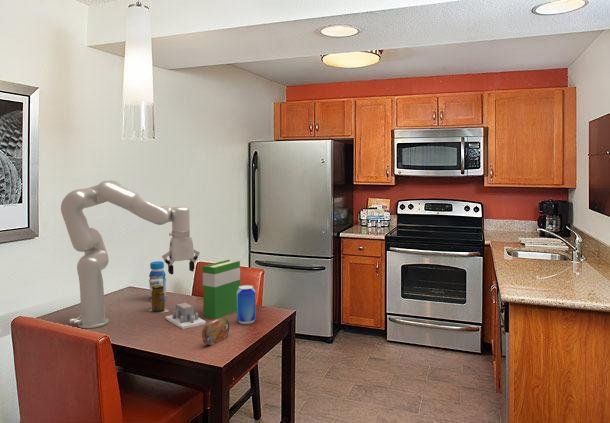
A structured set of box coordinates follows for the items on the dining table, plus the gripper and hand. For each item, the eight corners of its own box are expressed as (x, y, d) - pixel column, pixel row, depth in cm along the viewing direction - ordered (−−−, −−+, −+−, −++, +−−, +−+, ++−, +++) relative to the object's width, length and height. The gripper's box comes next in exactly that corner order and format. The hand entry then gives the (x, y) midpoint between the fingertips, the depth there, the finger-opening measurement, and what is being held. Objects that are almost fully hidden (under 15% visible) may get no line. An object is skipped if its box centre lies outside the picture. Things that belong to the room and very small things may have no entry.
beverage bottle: (170, 299, 246) (168, 261, 244) (157, 303, 239) (156, 264, 237) (159, 296, 251) (157, 260, 249) (146, 300, 244) (144, 262, 242)
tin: (207, 348, 180) (206, 327, 179) (200, 346, 181) (200, 325, 181) (230, 335, 193) (229, 315, 193) (224, 334, 195) (223, 314, 194)
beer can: (238, 325, 205) (237, 289, 204) (236, 319, 213) (235, 285, 212) (257, 323, 208) (256, 288, 206) (254, 318, 216) (253, 284, 214)
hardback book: (229, 307, 232) (228, 259, 230) (240, 309, 229) (239, 261, 226) (203, 316, 218) (202, 266, 215) (215, 319, 214) (214, 267, 211)
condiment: (162, 307, 232) (161, 283, 231) (169, 311, 226) (168, 287, 225) (148, 310, 228) (147, 286, 227) (154, 314, 221) (154, 289, 220)
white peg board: (182, 329, 201) (182, 319, 200) (165, 318, 214) (165, 310, 214) (205, 323, 208) (205, 314, 207) (187, 314, 221) (187, 305, 221)
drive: (185, 322, 206) (185, 308, 205) (176, 317, 213) (175, 303, 213) (194, 320, 208) (193, 307, 208) (184, 315, 216) (184, 302, 215)
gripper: (165, 237, 199) (166, 276, 201) (202, 233, 210) (203, 271, 212) (158, 235, 205) (159, 273, 207) (195, 232, 216) (195, 268, 218)
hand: (181, 272), depth 209 cm, fingers open, 9 cm apart
